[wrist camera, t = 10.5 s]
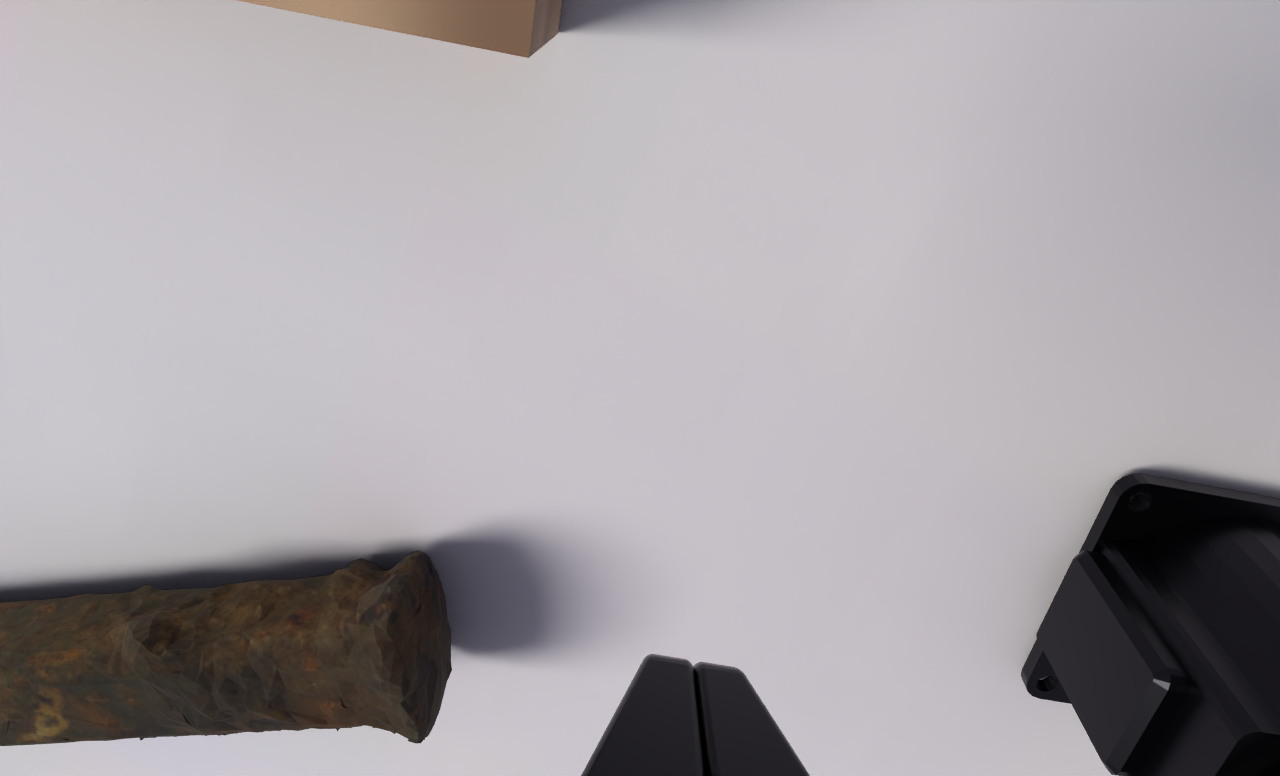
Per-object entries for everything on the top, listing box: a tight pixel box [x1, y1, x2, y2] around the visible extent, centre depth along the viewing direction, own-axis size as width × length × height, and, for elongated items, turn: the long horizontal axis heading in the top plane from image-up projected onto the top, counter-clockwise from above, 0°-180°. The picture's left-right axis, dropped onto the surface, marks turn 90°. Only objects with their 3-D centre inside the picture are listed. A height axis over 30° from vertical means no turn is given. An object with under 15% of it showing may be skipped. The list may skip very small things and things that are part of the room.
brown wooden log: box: [0, 551, 452, 746], centre depth 21 cm, size 19×4×5 cm, turn 94°
